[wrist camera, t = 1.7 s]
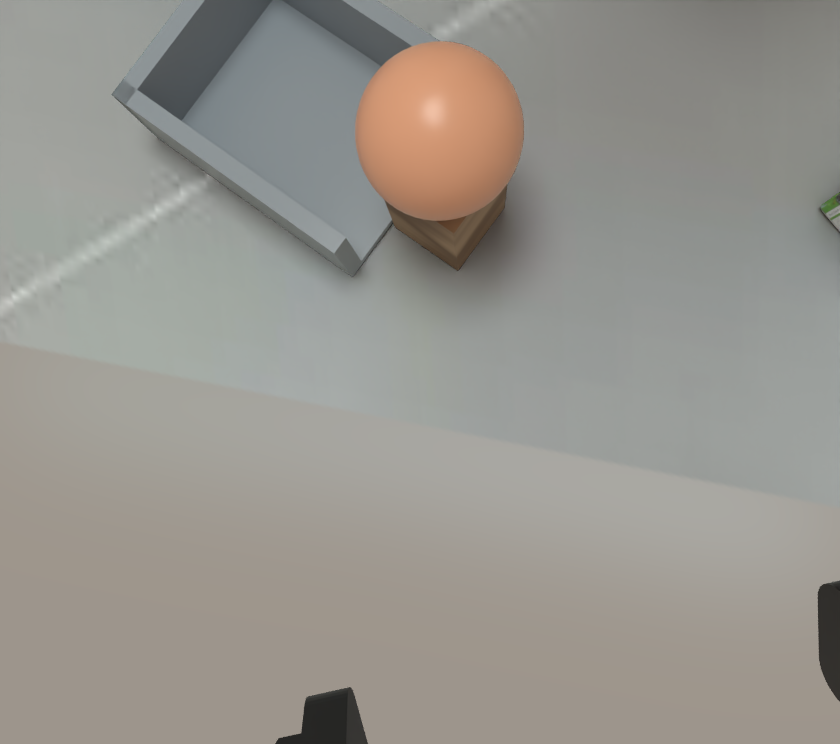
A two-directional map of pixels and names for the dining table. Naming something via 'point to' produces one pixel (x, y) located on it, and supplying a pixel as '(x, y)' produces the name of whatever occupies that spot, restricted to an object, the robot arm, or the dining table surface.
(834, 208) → the syrup box
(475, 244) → the wooden block
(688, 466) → the dining table surface
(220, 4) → the tray
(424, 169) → the ball
